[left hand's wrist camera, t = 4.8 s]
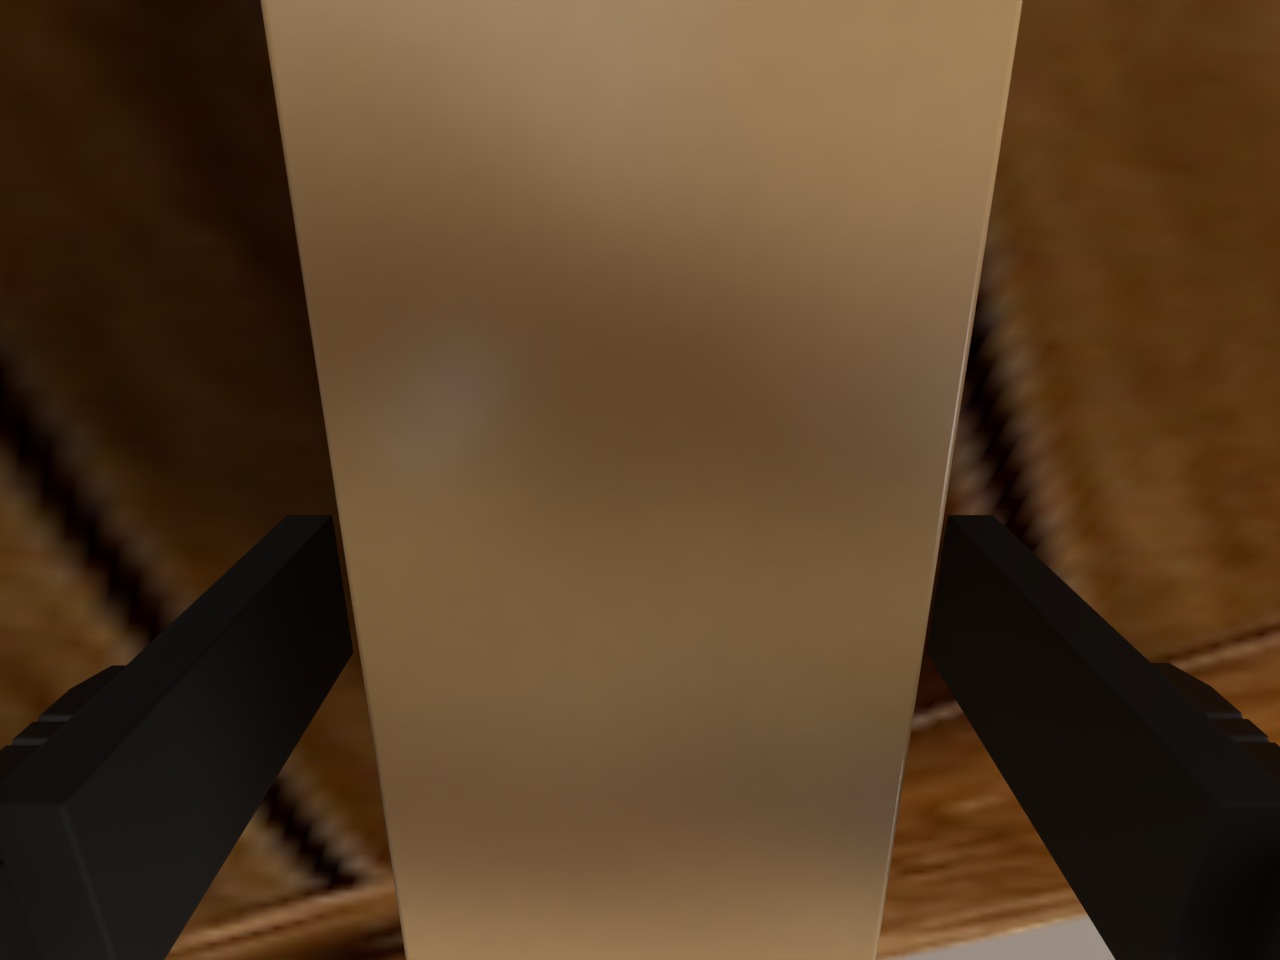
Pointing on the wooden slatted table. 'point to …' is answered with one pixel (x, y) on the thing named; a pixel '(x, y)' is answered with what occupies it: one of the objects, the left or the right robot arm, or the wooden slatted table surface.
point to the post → (641, 441)
